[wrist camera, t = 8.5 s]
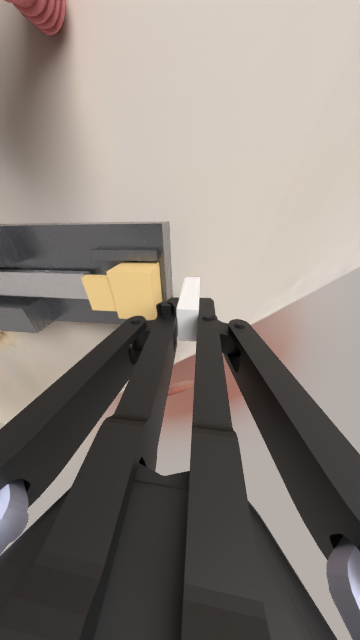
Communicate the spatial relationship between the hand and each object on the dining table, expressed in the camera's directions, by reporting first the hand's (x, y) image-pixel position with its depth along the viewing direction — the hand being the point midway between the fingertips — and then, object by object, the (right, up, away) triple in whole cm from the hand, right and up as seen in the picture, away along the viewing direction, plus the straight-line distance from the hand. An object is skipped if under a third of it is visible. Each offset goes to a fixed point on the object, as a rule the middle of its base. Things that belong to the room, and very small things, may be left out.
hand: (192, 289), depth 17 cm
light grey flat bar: (-20, +2, +3) cm, 20 cm away
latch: (-7, +1, +2) cm, 7 cm away
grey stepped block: (-16, +4, +7) cm, 18 cm away
